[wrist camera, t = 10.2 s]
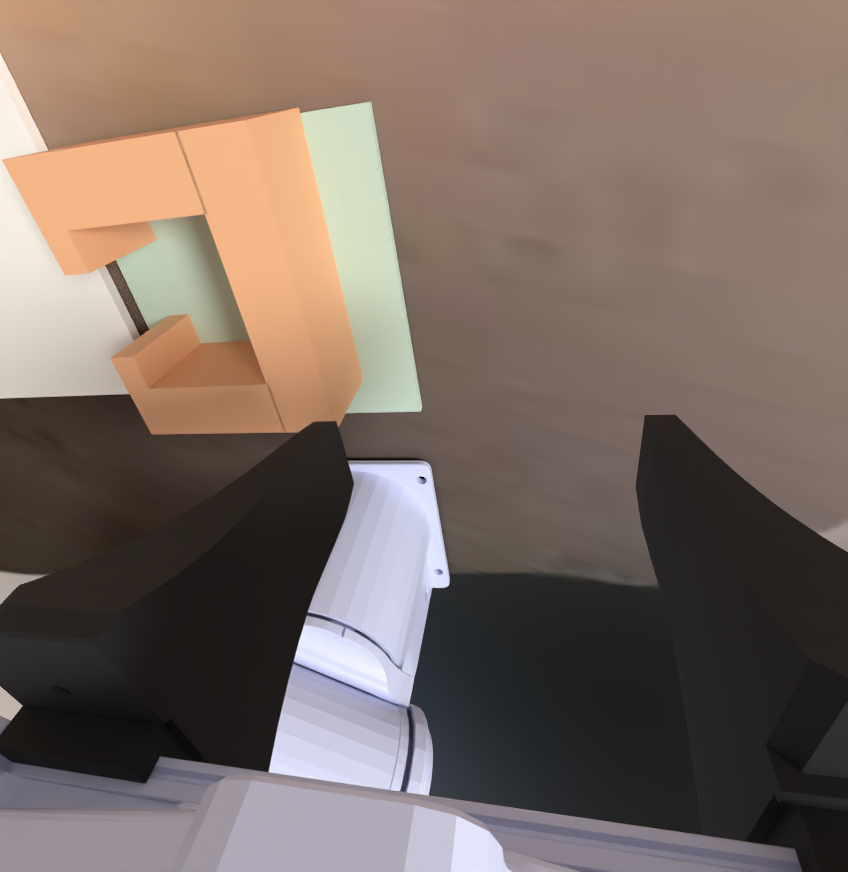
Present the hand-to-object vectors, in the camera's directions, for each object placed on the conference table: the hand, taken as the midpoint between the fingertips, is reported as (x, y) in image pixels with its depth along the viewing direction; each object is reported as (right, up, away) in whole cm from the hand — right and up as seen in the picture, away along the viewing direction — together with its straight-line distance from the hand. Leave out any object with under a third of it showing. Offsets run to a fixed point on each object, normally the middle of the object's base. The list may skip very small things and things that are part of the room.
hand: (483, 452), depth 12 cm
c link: (-9, +7, +9) cm, 14 cm away
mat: (-8, +7, +9) cm, 14 cm away
